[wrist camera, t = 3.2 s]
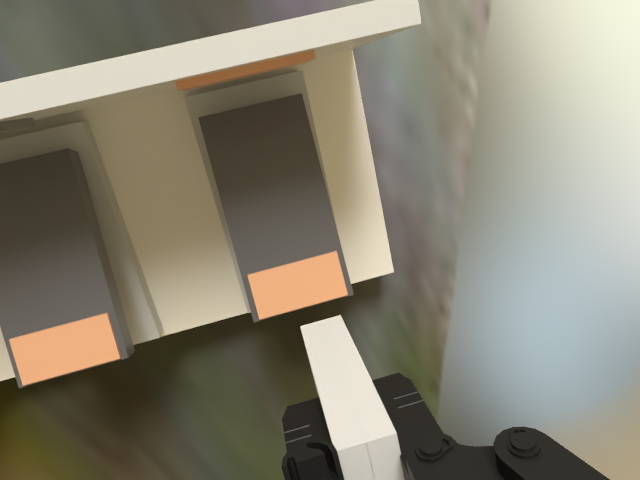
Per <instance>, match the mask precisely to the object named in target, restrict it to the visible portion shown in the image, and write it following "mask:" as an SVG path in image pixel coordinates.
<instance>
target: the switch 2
mask: <svg viewBox="0 0 640 480" xmlns="http://www.w3.org/2000/svg"><path fill="white" fill-rule="evenodd" d="M198 119H199V122H200V126H201V130H202V133H203V137H204V141H205V144H206V148H207V152H208V155H209V159H210V163H211V166H212V170H213V174H214V178H215V181H216V185H217V189H218V192H219V196H220V200H221V203H222V207H223V211H224V214H225V218H226V222H227V225H228V229H229V233H230V237H231V240H232V244H233V248H234V251H235V255H236V259H237V262H238V266H239V270H240V273H241V277H242V281H243V285H244V288H245V292H246V296H247V299H248V303H249V307H250V310H251V314H252V318H253V321H254V323H255V322H258V321H262V320H265V319H269V318H272V317H276V316H280V315H283V314H287V313H290V312H294V311H298V310H301V309H305V308H308V307H312V306H315V305H319V304H323V303H326V302H330V301H333V300H337V299H340V298H344V297H348V296H351V295H354V294H353V290H352V286H351V282H350V278H349V274H348V270H347V267H346V263H345V259H344V255H343V251H342V247H341V243H340V239H339V236H338V232H337V228H336V224H335V220H334V216H333V212H332V208H331V205H330V201H329V197H328V193H327V189H326V185H325V181H324V177H323V173H322V170H321V166H320V162H319V158H318V154H317V150H316V146H315V142H314V139H313V135H312V131H311V127H310V123H309V119H308V115H307V111H306V108H305V104H304V100H303V96H302V93H300V94H296V95H292V96H287V97H283V98H279V99H275V100H271V101H266V102H262V103H258V104H254V105H249V106H245V107H241V108H237V109H232V110H228V111H224V112H220V113H215V114H211V115H207V116H203V117H198Z"/></svg>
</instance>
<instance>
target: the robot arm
mask: <svg viewBox="0 0 640 480" xmlns="http://www.w3.org/2000/svg"><path fill="white" fill-rule="evenodd" d="M300 328H301V332H302V336H303V339H304V343H305V347H306V351H307V355H308V359H309V362H310V366H311V370H312V374H313V378H314V382H315V385H316V389H317V393H318V398H315V399H312V400H308V401H305V402H301V403H298V404H294V405H291V406H288V407H287V409H286V411H285V414H284V416H283V419H282V421H283V428H284V433H285V434H284V435H285V442H286V449H287V453H286V455H285V456H284V458H283V460H282V470H283V474H284V477H285V480H610V479H608V478H607V477H605V476H604V475H602V474H601V473H600V472H598V471H597V470H595V469H594V468H593V467H591V466H590V465H588V464H587V463H585V462H584V461H583V460H581V459H580V458H578V457H577V456H576V455H574V454H573V453H571V452H570V451H569V450H567V449H565V448H564V447H563V446H561V445H560V444H559V443H557V442H556V441H554V440H553V439H552V438H550V437H549V436H547V435H546V434H544V433H542V432H540V431H538V430H536V429H532V428H527V427H512V428H509V429H506V430H503V431H502V432H501V433H500V434H499V435H497V436H496V438H495V441H494V446H482V447H473V446H465V445H460V444H458V443H457V442H456V441H455V440H453V438H452V437H450V436H448V435H446V434H444V433H443V432H442V430H441V429H440V427H439V425H438V424H437V422H436V420H435V419H434V417H433V416H432V414H431V412H430V411H429V409H428V407H427V406H426V404H425V402H424V401H423V399H422V398H421V396H420V394H419V393H418V392H417V389H416V388H415V386H414V385H413V383H412V381H411V380H410V379H408V378H406V377H405V376H403V375H401V374H400V373H396V374H393V375H389V376H386V377H383V378H379V379H376V380H371V378H370V376H369V374H368V372H367V370H366V367H365V365H364V363H363V361H362V359H361V357H360V355H359V353H358V351H357V349H356V346H355V344H354V342H353V340H352V338H351V336H350V334H349V332H348V330H347V328H346V325H345V323H344V321H343V319H342V317H341V315H338V316H335V317H331V318H328V319H324V320H321V321H317V322H313V323H310V324H306V325H303V326H300Z"/></svg>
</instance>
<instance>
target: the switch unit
mask: <svg viewBox="0 0 640 480" xmlns="http://www.w3.org/2000/svg"><path fill="white" fill-rule="evenodd" d="M419 24H421V18H420V11H419V4H418V0H375V1H370V2H366V3H361V4H357V5H352V6H348V7H343V8H339V9H334V10H330V11H325V12H320V13H316V14H311V15H307V16H302V17H298V18H293V19H289V20H284V21H280V22H275V23H270V24H266V25H261V26H257V27H252V28H248V29H243V30H239V31H234V32H230V33H225V34H220V35H216V36H211V37H207V38H202V39H198V40H193V41H189V42H184V43H180V44H175V45H170V46H166V47H161V48H157V49H152V50H148V51H143V52H139V53H134V54H130V55H125V56H120V57H116V58H111V59H107V60H102V61H98V62H93V63H89V64H84V65H80V66H75V67H71V68H66V69H61V70H57V71H52V72H48V73H43V74H39V75H34V76H30V77H25V78H21V79H16V80H11V81H7V82H2V83H0V164H3V163H7V162H12V161H16V160H20V159H24V158H29V157H33V156H37V155H41V154H46V153H50V152H54V151H58V150H63V149H67V148H69V149H72V150H74V151H77V152H78V154H79V157H80V161H81V164H82V168H83V171H84V175H85V178H86V182H87V185H88V189H89V192H90V195H91V199H92V202H93V206H94V209H95V213H96V216H97V220H98V223H99V227H100V230H101V234H102V237H103V241H104V244H105V248H106V251H107V255H108V258H109V262H110V265H111V269H112V272H113V276H114V279H115V283H116V286H117V290H118V293H119V297H120V300H121V304H122V307H123V311H124V314H125V318H126V321H127V325H128V328H129V332H130V335H131V339H132V342H133V345H135V344H139V343H142V342H146V341H150V340H153V339H157V338H160V337H162V336H165V335H169V334H173V333H176V332H180V331H183V330H187V329H191V328H194V327H198V326H201V325H205V324H209V323H212V322H216V321H219V320H223V319H227V318H230V317H234V316H237V315H241V314H245V313H251V310H250V307H249V303H248V299H247V296H246V292H245V288H244V285H243V281H242V277H241V273H240V270H239V266H238V262H237V259H236V255H235V251H234V248H233V244H232V240H231V237H230V233H229V229H228V225H227V222H226V218H225V214H224V211H223V207H222V203H221V200H220V196H219V192H218V189H217V185H216V181H215V178H214V174H213V170H212V166H211V163H210V159H209V155H208V152H207V148H206V144H205V141H204V137H203V133H202V130H201V126H200V122H199V119H198V117H203V116H207V115H211V114H215V113H220V112H224V111H228V110H232V109H237V108H241V107H245V106H249V105H254V104H258V103H262V102H266V101H271V100H275V99H279V98H283V97H287V96H292V95H296V94H300V93H302V96H303V100H304V104H305V108H306V111H307V115H308V119H309V123H310V127H311V131H312V135H313V139H314V142H315V146H316V150H317V154H318V158H319V162H320V166H321V170H322V173H323V177H324V181H325V185H326V189H327V193H328V197H329V201H330V205H331V208H332V212H333V216H334V220H335V224H336V228H337V232H338V236H339V239H340V243H341V247H342V251H343V255H344V259H345V263H346V267H347V270H348V274H349V278H350V282H351V284H353V283H357V282H360V281H364V280H367V279H371V278H375V277H378V276H382V275H385V274H389V273H393V272H394V270H393V265H392V260H391V254H390V249H389V243H388V238H387V233H386V227H385V222H384V217H383V211H382V206H381V200H380V195H379V190H378V184H377V179H376V174H375V168H374V163H373V157H372V152H371V147H370V141H369V136H368V131H367V125H366V120H365V114H364V109H363V104H362V98H361V93H360V87H359V82H358V77H357V71H356V66H355V61H354V55H353V50H352V49H353V48H356V47H358V46H361V45H364V44H367V43H369V42H372V41H375V40H378V39H380V38H383V37H386V36H388V35H391V34H394V33H397V32H399V31H402V30H405V29H408V28H410V27H413V26H416V25H419ZM14 377H15V374H14V371H13V367H12V364H11V361H10V357H9V354H8V351H7V347H6V344H5V341H4V337H3V334H2V331H1V328H0V381H3V380H7V379H10V378H14Z"/></svg>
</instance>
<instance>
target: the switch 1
mask: <svg viewBox="0 0 640 480" xmlns="http://www.w3.org/2000/svg"><path fill="white" fill-rule="evenodd" d="M0 328H1V331H2V334H3V337H4V341H5V344H6V347H7V351H8V354H9V357H10V361H11V364H12V367H13V371H14V374H15V377H16V380H17V384H18V387H19V388H22V387H26V386H29V385H33V384H36V383H40V382H43V381H47V380H51V379H54V378H58V377H61V376H65V375H68V374H72V373H76V372H79V371H83V370H86V369H90V368H94V367H97V366H101V365H104V364H108V363H111V362H115V361H119V360H122V359H126V358H129V357H130V356H131V355H132V354H133V353H134V352H135V349H134V346H133V342H132V339H131V335H130V332H129V328H128V325H127V321H126V318H125V314H124V311H123V307H122V304H121V300H120V297H119V293H118V290H117V286H116V283H115V279H114V276H113V272H112V269H111V265H110V262H109V258H108V255H107V251H106V248H105V244H104V241H103V237H102V234H101V230H100V227H99V223H98V220H97V216H96V213H95V209H94V206H93V202H92V199H91V195H90V192H89V189H88V185H87V182H86V178H85V175H84V171H83V168H82V164H81V161H80V157H79V154H78V152H77V151H74V150H72V149H69V148H67V149H63V150H58V151H54V152H50V153H46V154H41V155H37V156H33V157H29V158H24V159H20V160H16V161H12V162H7V163H3V164H0Z"/></svg>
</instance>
